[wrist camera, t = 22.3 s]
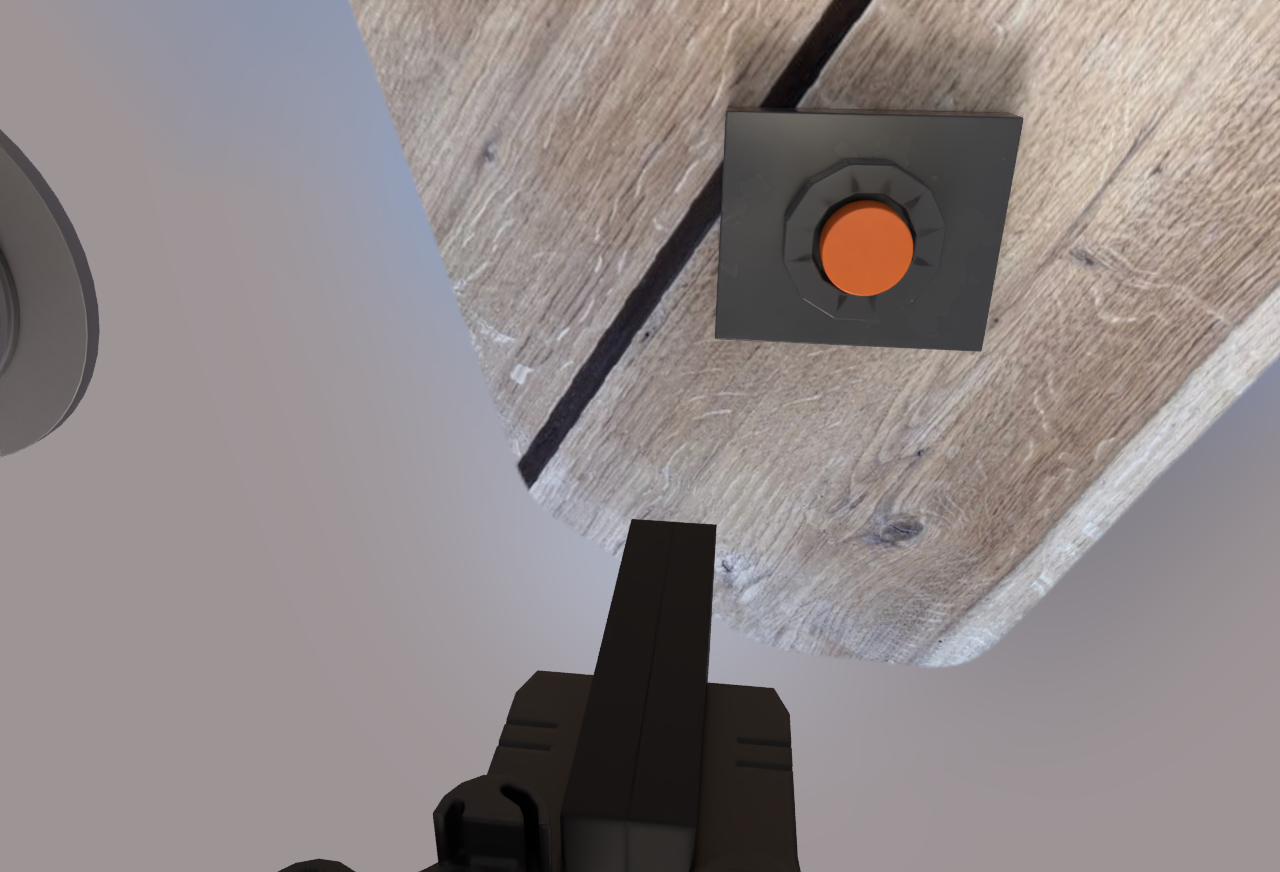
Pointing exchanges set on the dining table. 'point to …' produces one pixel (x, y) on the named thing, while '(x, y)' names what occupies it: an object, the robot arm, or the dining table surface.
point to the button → (865, 247)
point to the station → (851, 171)
